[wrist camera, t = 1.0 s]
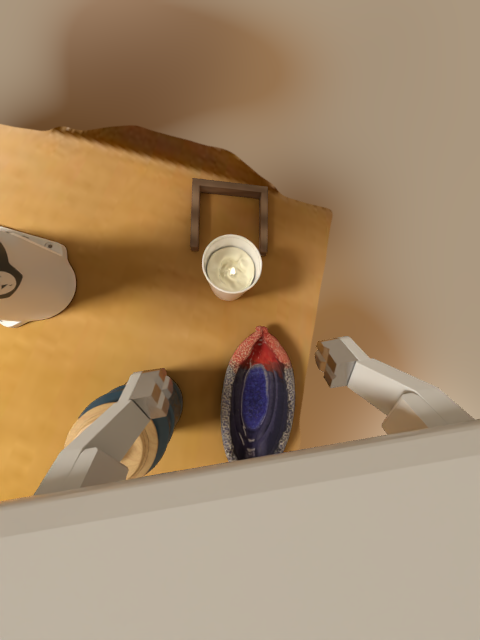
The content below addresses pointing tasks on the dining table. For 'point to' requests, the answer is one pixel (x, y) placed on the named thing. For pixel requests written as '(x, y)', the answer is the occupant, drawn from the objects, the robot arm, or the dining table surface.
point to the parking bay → (231, 190)
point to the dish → (257, 398)
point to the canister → (149, 441)
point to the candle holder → (231, 266)
